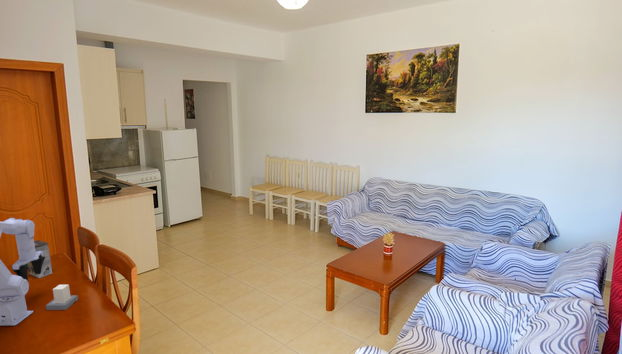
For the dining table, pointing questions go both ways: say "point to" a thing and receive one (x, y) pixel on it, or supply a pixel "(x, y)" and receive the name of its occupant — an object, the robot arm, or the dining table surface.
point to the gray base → (62, 304)
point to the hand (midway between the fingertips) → (31, 277)
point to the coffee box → (47, 262)
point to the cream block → (61, 293)
